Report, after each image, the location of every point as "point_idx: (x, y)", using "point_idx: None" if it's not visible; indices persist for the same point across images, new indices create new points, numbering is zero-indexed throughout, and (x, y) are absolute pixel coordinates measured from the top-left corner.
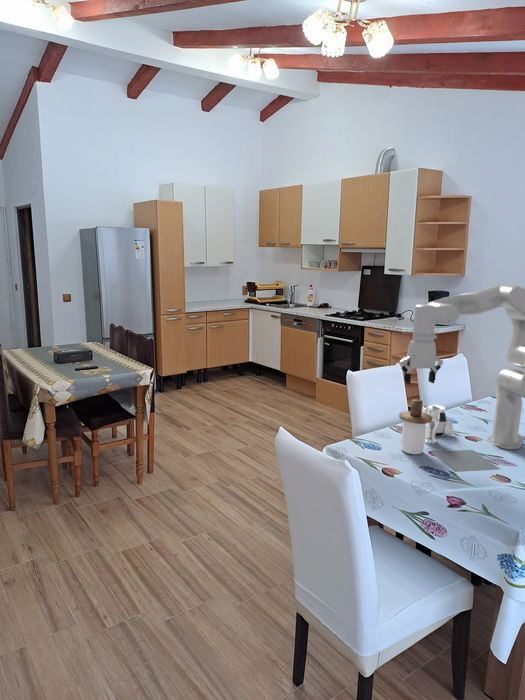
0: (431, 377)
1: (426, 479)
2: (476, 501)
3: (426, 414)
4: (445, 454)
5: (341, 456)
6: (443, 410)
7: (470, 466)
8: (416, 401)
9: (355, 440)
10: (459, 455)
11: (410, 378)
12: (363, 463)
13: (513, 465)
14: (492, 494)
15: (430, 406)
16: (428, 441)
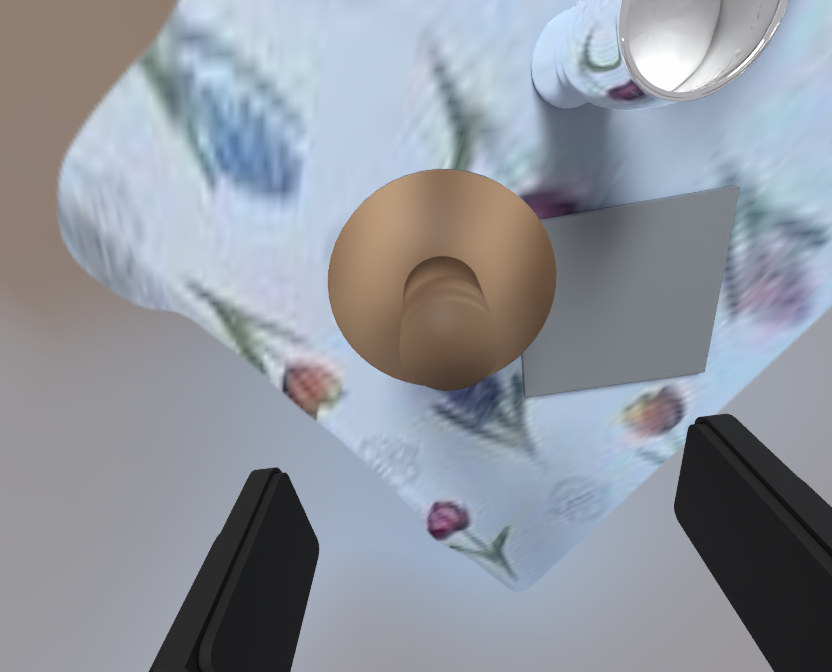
0: (736, 565)
1: (413, 431)
2: (498, 519)
3: (537, 255)
4: (570, 255)
5: (128, 282)
6: None
7: (605, 358)
8: (434, 371)
9: (164, 62)
10: (628, 261)
11: (296, 635)
12: (219, 338)
13: (794, 319)
14: (561, 491)
15: None
16: (562, 102)
